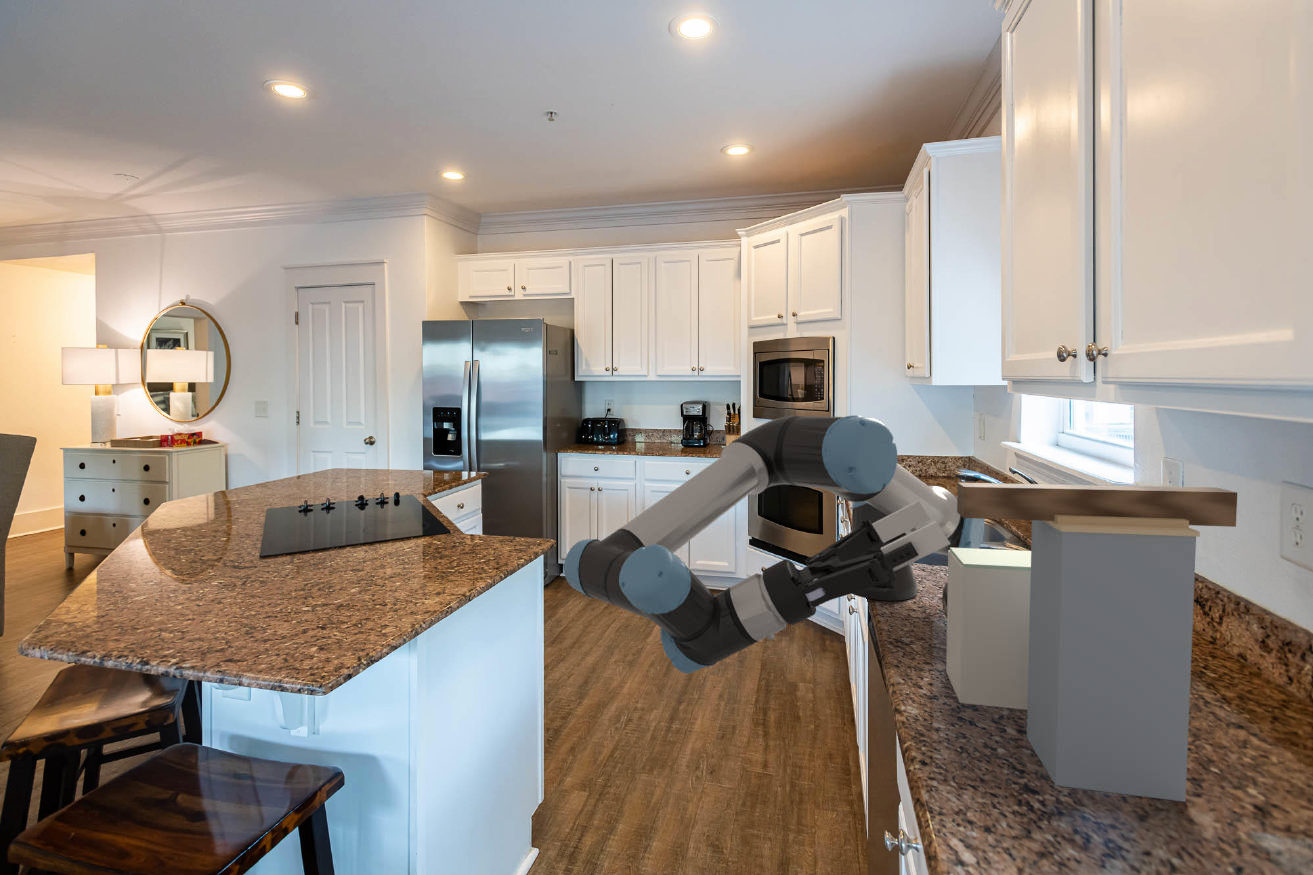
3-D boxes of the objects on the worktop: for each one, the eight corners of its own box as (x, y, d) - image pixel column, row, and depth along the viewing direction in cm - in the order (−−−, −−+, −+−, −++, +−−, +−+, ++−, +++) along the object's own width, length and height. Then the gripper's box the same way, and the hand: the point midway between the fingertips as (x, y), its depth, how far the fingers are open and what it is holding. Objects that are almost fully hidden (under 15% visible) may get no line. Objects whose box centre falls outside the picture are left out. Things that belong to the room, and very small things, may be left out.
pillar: (1140, 749, 76) (1148, 506, 74) (1188, 803, 66) (1200, 523, 64) (1024, 736, 79) (1029, 503, 77) (1054, 786, 69) (1061, 519, 67)
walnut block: (1215, 520, 69) (1216, 487, 69) (1235, 526, 66) (1237, 492, 66) (957, 512, 76) (957, 482, 76) (963, 518, 72) (964, 486, 72)
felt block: (960, 702, 87) (962, 564, 86) (946, 672, 97) (948, 547, 96) (1127, 719, 82) (1132, 572, 81) (1095, 685, 92) (1099, 553, 91)
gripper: (795, 594, 91) (932, 526, 86) (783, 666, 67) (973, 577, 62) (768, 549, 92) (903, 478, 87) (747, 604, 68) (932, 511, 63)
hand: (933, 519), depth 74 cm, fingers open, 13 cm apart
